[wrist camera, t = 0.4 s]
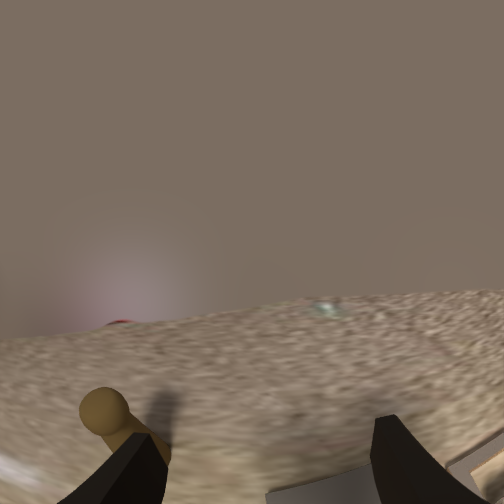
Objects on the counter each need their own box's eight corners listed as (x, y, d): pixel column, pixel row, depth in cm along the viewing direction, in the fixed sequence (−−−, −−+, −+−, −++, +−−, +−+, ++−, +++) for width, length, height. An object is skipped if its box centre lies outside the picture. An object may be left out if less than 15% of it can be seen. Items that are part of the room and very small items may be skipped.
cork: (168, 433, 33) (122, 371, 28) (173, 474, 27) (119, 417, 23) (125, 443, 32) (74, 385, 28) (125, 483, 27) (65, 428, 22)
